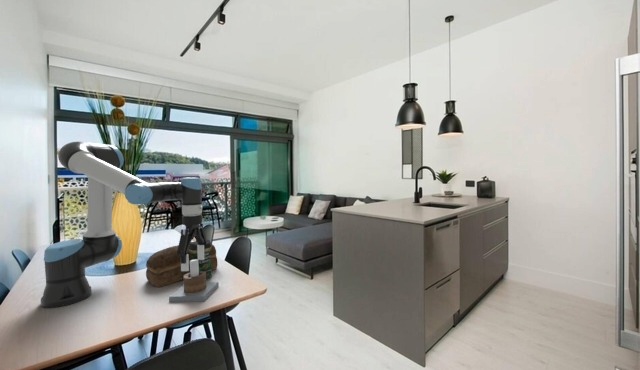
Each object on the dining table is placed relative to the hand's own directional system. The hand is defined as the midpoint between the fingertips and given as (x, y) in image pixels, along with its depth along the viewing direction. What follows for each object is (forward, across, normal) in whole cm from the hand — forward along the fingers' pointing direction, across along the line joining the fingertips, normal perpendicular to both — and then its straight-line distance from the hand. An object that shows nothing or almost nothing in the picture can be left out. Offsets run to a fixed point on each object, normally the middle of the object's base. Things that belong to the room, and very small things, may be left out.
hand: (193, 265), depth 112 cm
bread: (+13, +21, +16) cm, 29 cm away
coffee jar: (+12, +16, +4) cm, 21 cm away
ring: (+10, 0, -1) cm, 10 cm away
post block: (+12, 0, -1) cm, 12 cm away
